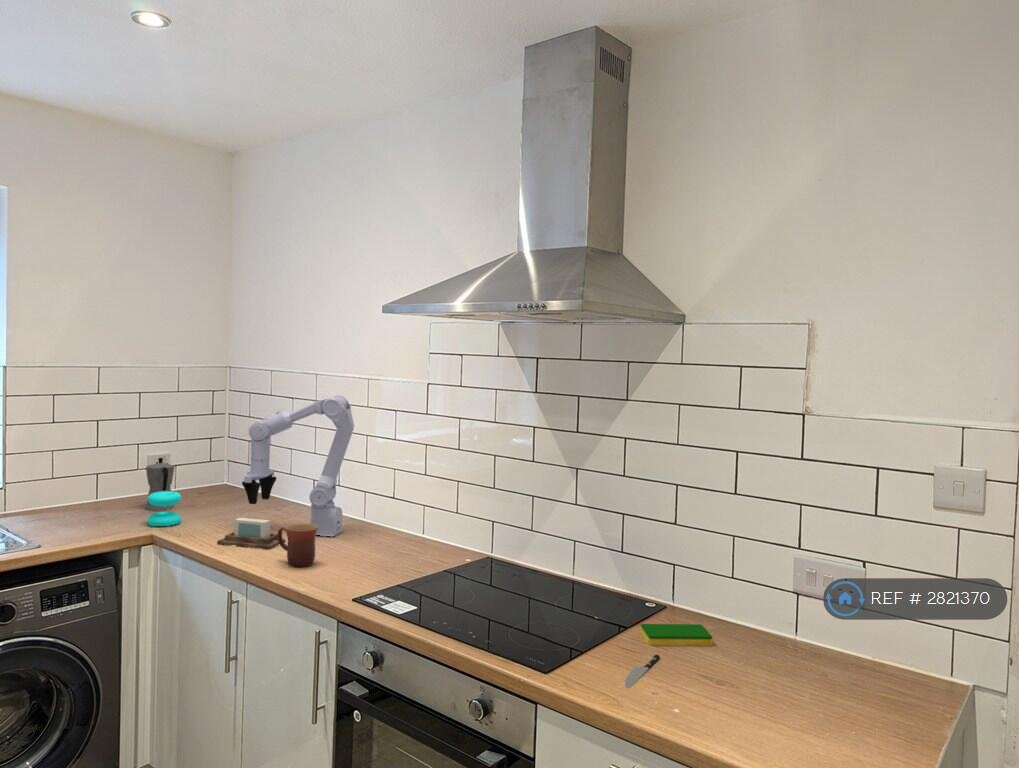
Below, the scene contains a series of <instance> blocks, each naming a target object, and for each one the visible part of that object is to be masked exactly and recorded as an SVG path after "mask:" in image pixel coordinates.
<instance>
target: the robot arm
mask: <svg viewBox="0 0 1019 768" xmlns="http://www.w3.org/2000/svg"><path fill="white" fill-rule="evenodd" d="M315 414H317V415H319V416H320V415H325V416H326V417H327V418H328V419H329V420H331V422H332V423H333V425H334V426H335V428H336V431H335V434H334V437H333V440H332V443H331V446H330V449H329V452H328V454H327V457H326V460H325V463H324V466H323V469H322V472H321V475H320V477H319V479H318V480H317V482H316V484H315V487H314V488H313V489H312V490H311V491H310V493H309V502H310V503H311V504H310V524H314V525H317V526H318V530H317V533H316V535H320V536H319V537H326V536H331V537H330V538H334V537H336V536H338V535H339V534H341V533H342V531H343V532H344V530H343V509H342V508H341V507H339V506H336V505H335V502H334V499H335V498H336V495H337V490H336V489H337V488H336V486H337V482H338V479H337V478H338V476H339V472H340V470H341V466H342V463H343V461H344V458H345V455H346V453H347V450H348V446H349V444H350V441H351V438H352V435H353V433H354V432H353V431H354V428H355V423H354V418H353V414H352V405H351V404H350V402H348V399H347V398H346V397H344V396H343V395H335V396H332V397H331V396H330V397H327V398H324V399H319V400H316V401H313V402H311V403H309V404H306V405H304V406H302V407H300V408H298V409H296V410H294V411H292V412H291V411H290V412H287V411H286V410H285V411H281V410H278V411H276V412H275V414H273V415H272V416H269V417H263V418H262V419H261V420H262V421H256V422H254V423H253V424H251V425H250V427H248V428H249V429H248V436H249V437H250V438H251V439H250V471H247V473H246V474H247V475H245V476H243V477H244V480H243V481H242V482H241V483H242V484H241V485H242V486H243V488H244V490H245V493H246V496H247V501H248V503H249V505H257V503H258V495H259V491H260V492H261V493H260V494H261V500H269V499H270V497H271V493H272V490H273V487H274V485H275V482H276V481H277V476H275V469H270V461H271V460H270V453H271V452H270V450H271V444H270V443H271V436H275V435H277V434H279V433H282V432H285V431H287V430H288V429H291V428H292V427H293V425H294V422H296V421H297V422H298V421H300V420H302V419H304V418H307V417H309V416H312V415H315ZM257 481H259V482H257ZM333 536H334V537H333Z"/></svg>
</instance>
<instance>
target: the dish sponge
mask: <svg viewBox="0 0 1019 768" xmlns="http://www.w3.org/2000/svg"><path fill="white" fill-rule="evenodd" d="M640 634H641V636H642V638H643V640H645V642H646V643H647V645H648V646H697V647H700V646H702V647H703V646H704V647H705V646H706V647H707V646H709V647H710V646H713V635H711V634H710V632H709V631H708V630H707V629H706V628H705V627H704V625H702V624H699V623H698V624H697V623H696V624H695V623H693V624H691V623H689V624H688V623H678V624H677V623H675V624H674V623H670V624H669V623H641V624H640Z"/></svg>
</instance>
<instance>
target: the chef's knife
mask: <svg viewBox="0 0 1019 768" xmlns="http://www.w3.org/2000/svg"><path fill="white" fill-rule="evenodd" d="M659 659H660V655H659V654H654V655H653V656H652V658H651V660H650V661H648V663H646V664H645V665H643V666H639V665H638V666H633V668H632V669H631V671H630V672H629V673H628V674H627V675H626V677H625V681H624V687H625V689H631V687H632V686H633V685H635V684H636V683H637V682H638V681H639V680H640V679H641V678H642V677H643V676H644V675H645V674H646V673H647V672H648V671H649V669H651V668H652V667H653V666H654V664H656V663H657V662H658V661H659Z"/></svg>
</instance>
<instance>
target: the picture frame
mask: <svg viewBox="0 0 1019 768" xmlns="http://www.w3.org/2000/svg"><path fill="white" fill-rule="evenodd" d="M233 522H234V525H233V527H234V529H233V530H234V531H233V532H234V536H242V537H252V538H262V539H266V538H268V537H270V534H271V520H270V519H269V520H268V519H258V518H257V519H256V518H250V517H249V518H247V517H238V518H236V519H234V521H233Z"/></svg>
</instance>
